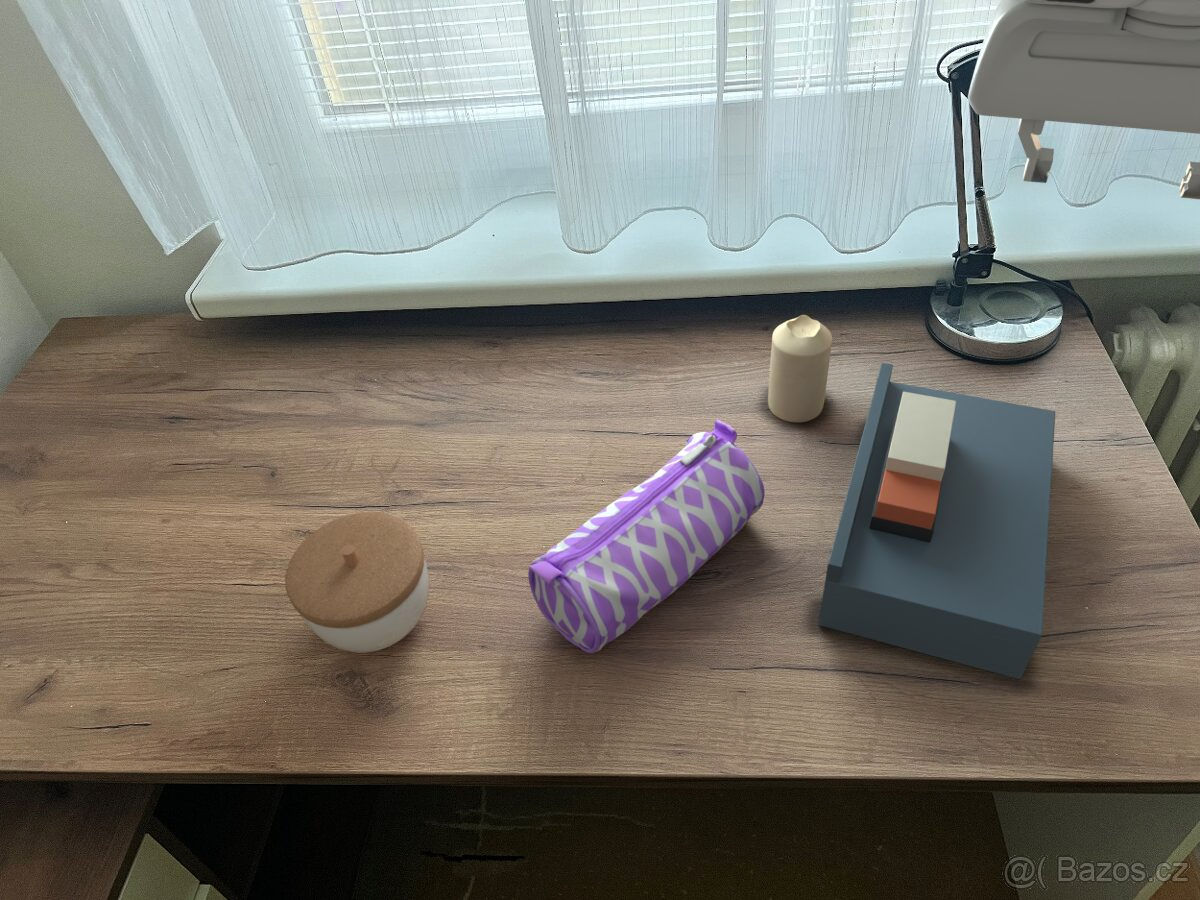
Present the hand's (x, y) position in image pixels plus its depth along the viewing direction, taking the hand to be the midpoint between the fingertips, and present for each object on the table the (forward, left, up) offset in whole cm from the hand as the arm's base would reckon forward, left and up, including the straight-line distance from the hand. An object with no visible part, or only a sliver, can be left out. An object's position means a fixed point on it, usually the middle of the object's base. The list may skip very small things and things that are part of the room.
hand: (1111, 186), depth 58 cm
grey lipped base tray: (+5, +8, -29) cm, 31 cm away
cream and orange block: (+8, +8, -23) cm, 26 cm away
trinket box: (+47, +31, -29) cm, 63 cm away
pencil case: (+27, +19, -29) cm, 44 cm away
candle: (+20, -5, -29) cm, 36 cm away
